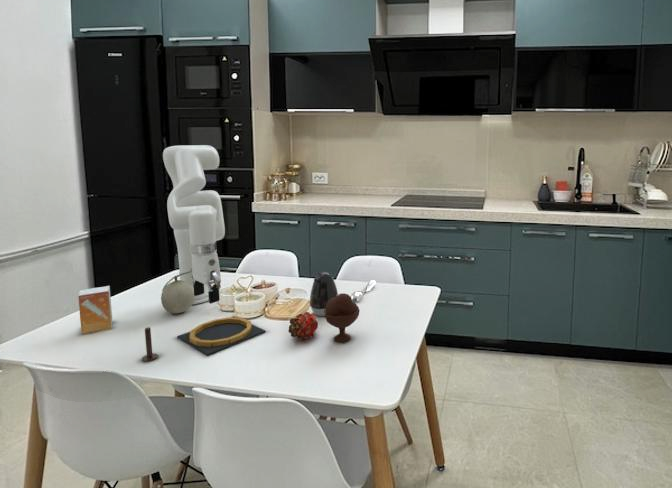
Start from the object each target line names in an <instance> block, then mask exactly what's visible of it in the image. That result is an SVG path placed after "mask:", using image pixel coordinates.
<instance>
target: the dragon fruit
mask: <svg viewBox="0 0 672 488" xmlns="http://www.w3.org/2000/svg"><path fill="white" fill-rule="evenodd" d="M318 327H319V322H318V320H317V318H316V314H314V313H310V312H309V311H305V312H304V313H299V314H297V315H296V316H295V317H294V318H291V319H289V326H288V330H287V331H288V333H289V334H290V337H291V338H297V341H304V340H305V339H306V338H308V339H312V338H314V336H315V334H314V333H315V332H316V330H317V329H318Z"/></svg>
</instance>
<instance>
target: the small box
mask: <svg viewBox="0 0 672 488" xmlns="http://www.w3.org/2000/svg"><path fill="white" fill-rule="evenodd" d="M77 297H78V307H79V308H78V310H79V321H80V332H81V335H85V334H89V333H94V332H99V331H105V330H111V329H112V328H113V312H112V311H113V310H112V298H111V286H110V285H106V286H105V285H104V286H100V287H99V286H98V287H92V288H86V289H80V290H79V292H78V296H77Z"/></svg>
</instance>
